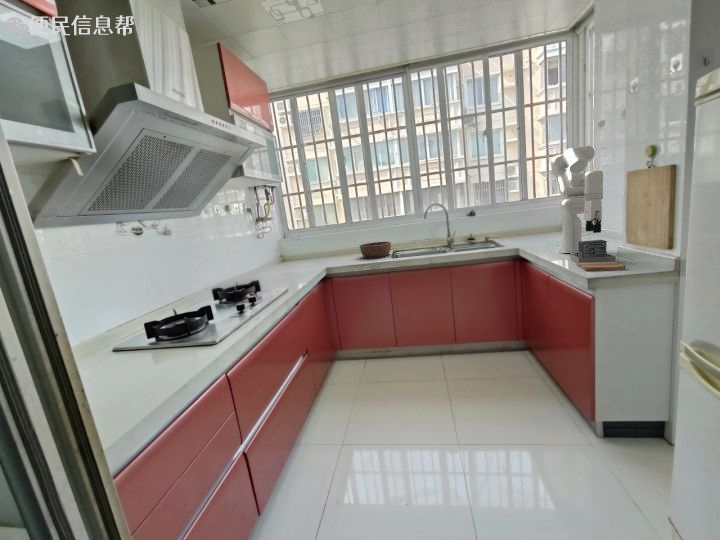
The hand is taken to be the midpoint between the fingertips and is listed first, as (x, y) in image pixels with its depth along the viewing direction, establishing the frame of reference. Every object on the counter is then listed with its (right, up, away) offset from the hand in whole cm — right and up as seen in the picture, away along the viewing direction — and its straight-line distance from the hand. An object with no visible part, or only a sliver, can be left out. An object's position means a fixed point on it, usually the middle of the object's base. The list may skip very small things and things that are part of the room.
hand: (593, 231), depth 163 cm
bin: (+2, -14, +3) cm, 15 cm away
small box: (+2, -15, +3) cm, 15 cm away
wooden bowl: (-103, -8, +102) cm, 145 cm away
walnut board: (-4, -18, -11) cm, 21 cm away
